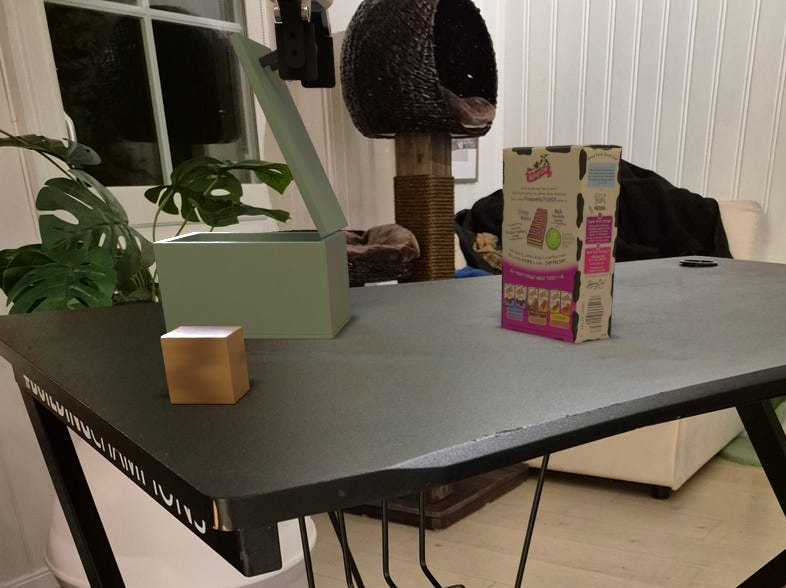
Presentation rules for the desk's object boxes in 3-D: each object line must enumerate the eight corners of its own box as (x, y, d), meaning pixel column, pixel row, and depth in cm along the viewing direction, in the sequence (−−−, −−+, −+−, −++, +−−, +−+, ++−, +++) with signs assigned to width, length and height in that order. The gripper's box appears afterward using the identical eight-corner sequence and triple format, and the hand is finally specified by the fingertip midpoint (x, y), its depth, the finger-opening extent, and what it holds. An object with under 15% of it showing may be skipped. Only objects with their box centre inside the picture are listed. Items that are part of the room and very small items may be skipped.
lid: (228, 36, 74) (286, 5, 73) (263, 52, 85) (314, 25, 84) (320, 238, 81) (375, 213, 80) (341, 228, 92) (389, 206, 91)
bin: (168, 344, 85) (152, 242, 81) (206, 322, 96) (193, 232, 92) (333, 344, 85) (325, 242, 81) (351, 322, 96) (345, 231, 92)
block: (170, 404, 65) (159, 337, 62) (189, 389, 69) (180, 326, 67) (234, 404, 65) (226, 337, 62) (250, 389, 69) (242, 326, 66)
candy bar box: (613, 343, 85) (626, 144, 77) (574, 349, 82) (583, 144, 75) (536, 327, 93) (540, 145, 85) (498, 332, 90) (499, 145, 83)
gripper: (267, -135, 80) (287, 90, 88) (214, -203, 65) (243, 76, 73) (351, -135, 80) (363, 90, 88) (318, -204, 65) (336, 76, 73)
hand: (309, 84), depth 81 cm, fingers open, 9 cm apart
